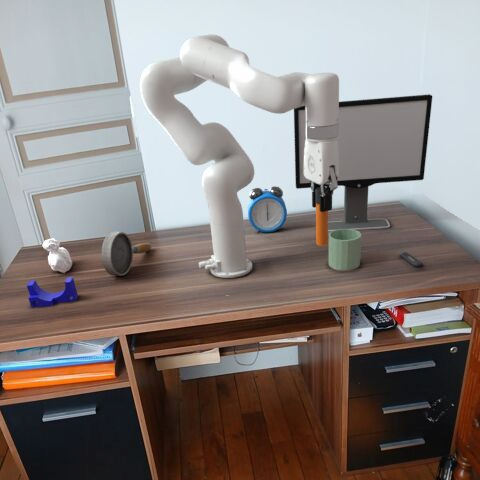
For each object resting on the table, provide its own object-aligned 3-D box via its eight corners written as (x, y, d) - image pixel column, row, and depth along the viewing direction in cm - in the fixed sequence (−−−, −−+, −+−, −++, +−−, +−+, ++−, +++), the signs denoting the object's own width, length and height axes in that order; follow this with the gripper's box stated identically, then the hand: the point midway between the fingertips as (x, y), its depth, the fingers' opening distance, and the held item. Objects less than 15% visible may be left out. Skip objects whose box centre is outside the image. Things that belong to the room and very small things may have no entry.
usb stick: (398, 257, 149) (398, 252, 148) (406, 255, 149) (407, 251, 148) (415, 270, 141) (415, 265, 140) (423, 268, 141) (424, 263, 140)
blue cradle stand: (31, 307, 140) (24, 288, 137) (36, 299, 144) (30, 280, 141) (74, 303, 140) (68, 284, 137) (78, 296, 144) (72, 277, 141)
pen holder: (338, 274, 142) (338, 243, 137) (322, 262, 150) (322, 232, 145) (366, 267, 144) (367, 236, 140) (349, 256, 152) (350, 226, 147)
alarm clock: (249, 234, 174) (246, 191, 166) (249, 228, 179) (246, 186, 171) (287, 231, 173) (286, 188, 166) (285, 225, 179) (284, 183, 171)
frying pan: (142, 226, 167) (99, 233, 144) (151, 227, 166) (109, 234, 143) (144, 265, 171) (102, 278, 148) (152, 266, 170) (111, 279, 147)
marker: (319, 246, 130) (319, 191, 123) (313, 242, 133) (313, 188, 125) (330, 244, 131) (331, 189, 123) (324, 240, 133) (324, 185, 126)
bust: (66, 267, 168) (38, 244, 163) (81, 252, 166) (53, 228, 161) (59, 283, 157) (28, 259, 153) (75, 267, 155) (44, 242, 150)
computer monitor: (297, 233, 171) (294, 107, 150) (295, 224, 178) (292, 103, 158) (420, 226, 168) (434, 96, 148) (414, 217, 175) (426, 92, 155)
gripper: (292, 129, 123) (294, 202, 133) (324, 140, 110) (324, 221, 119) (319, 125, 125) (319, 197, 135) (354, 135, 112) (352, 215, 121)
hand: (322, 207), depth 127 cm, fingers closed on marker, 3 cm apart
